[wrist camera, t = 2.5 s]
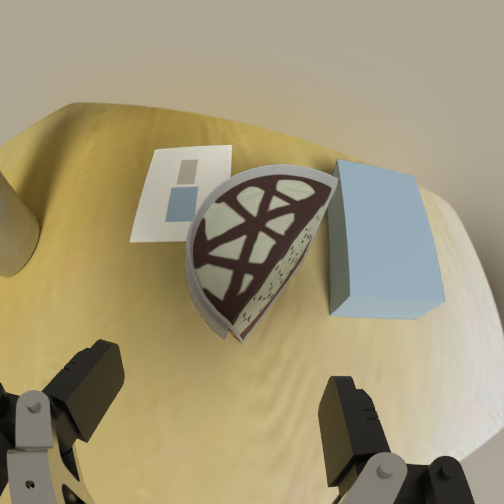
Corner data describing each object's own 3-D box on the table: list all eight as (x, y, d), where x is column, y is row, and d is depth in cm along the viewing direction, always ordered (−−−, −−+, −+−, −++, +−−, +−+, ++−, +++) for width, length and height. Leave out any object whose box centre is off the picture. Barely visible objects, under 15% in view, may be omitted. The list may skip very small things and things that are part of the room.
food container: (258, 217, 27) (264, 136, 18) (311, 249, 25) (341, 174, 17) (173, 313, 22) (131, 257, 13) (231, 358, 20) (221, 332, 12)
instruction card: (130, 242, 25) (129, 241, 25) (155, 150, 32) (155, 149, 32) (229, 240, 26) (229, 239, 25) (232, 146, 32) (231, 144, 32)
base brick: (330, 315, 22) (350, 295, 18) (326, 191, 29) (337, 159, 25) (414, 319, 22) (445, 301, 18) (396, 204, 29) (413, 176, 24)
